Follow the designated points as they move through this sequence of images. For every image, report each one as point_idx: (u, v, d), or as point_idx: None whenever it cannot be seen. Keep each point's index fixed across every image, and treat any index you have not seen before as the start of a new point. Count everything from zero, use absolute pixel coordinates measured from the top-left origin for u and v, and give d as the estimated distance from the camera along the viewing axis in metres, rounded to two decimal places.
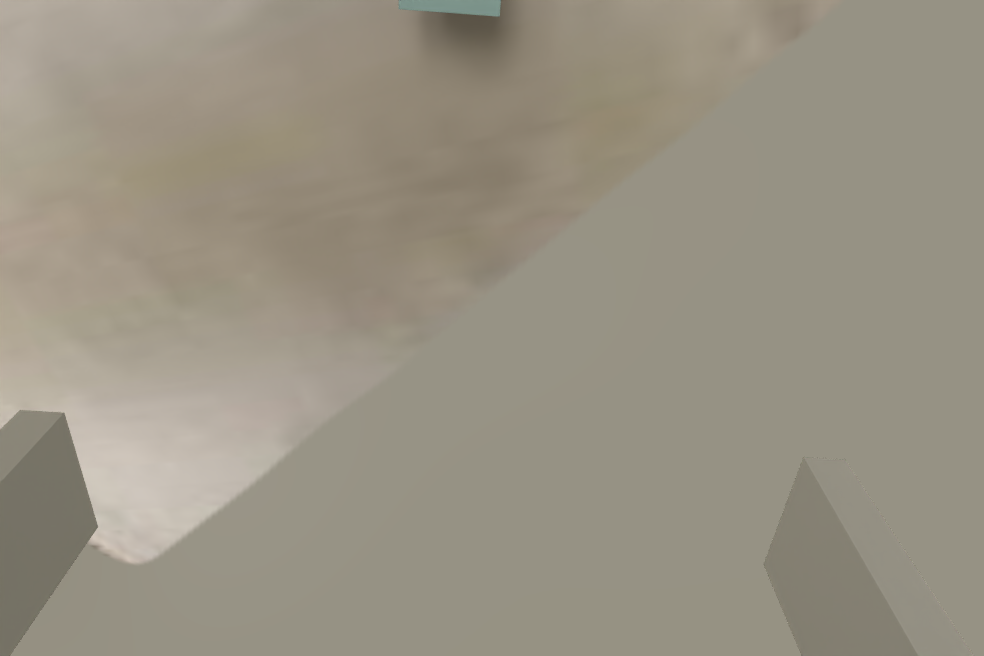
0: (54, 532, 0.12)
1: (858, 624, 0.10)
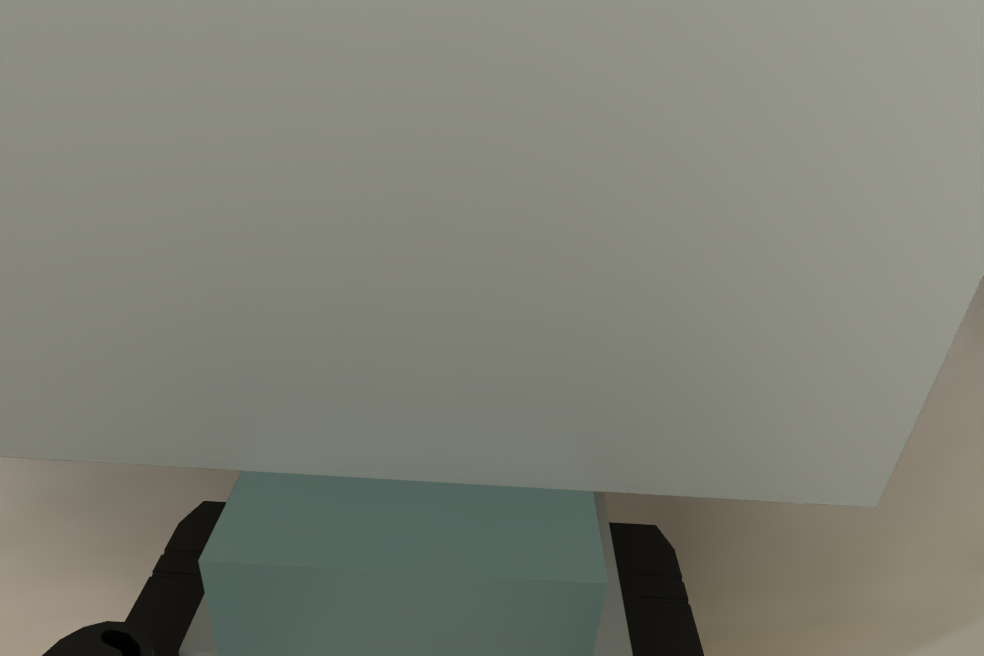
0: None
1: None
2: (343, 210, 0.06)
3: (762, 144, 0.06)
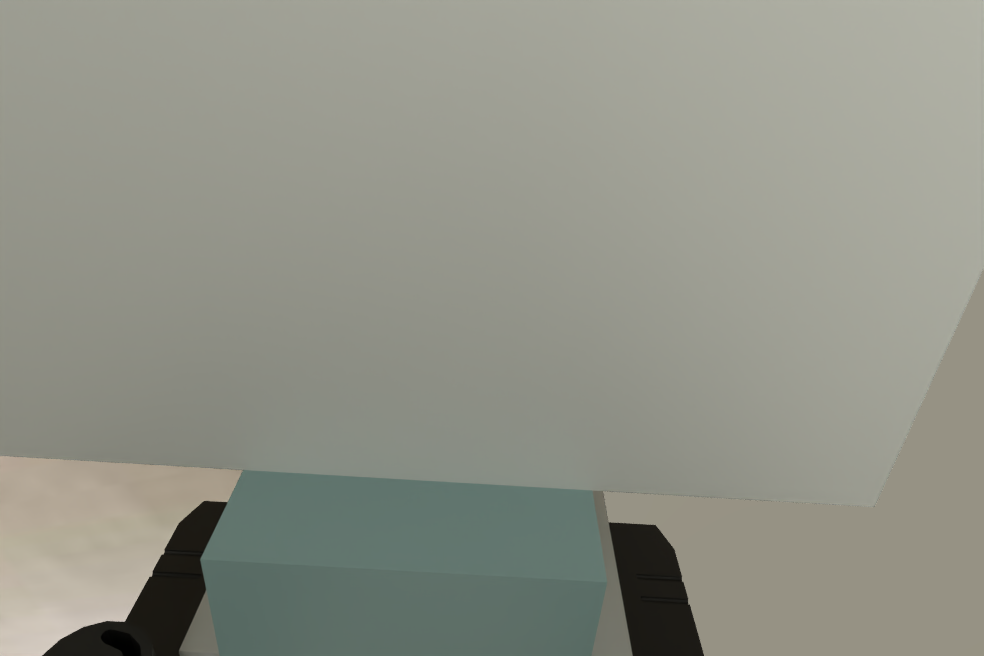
0: None
1: None
2: (344, 211, 0.06)
3: (760, 146, 0.06)
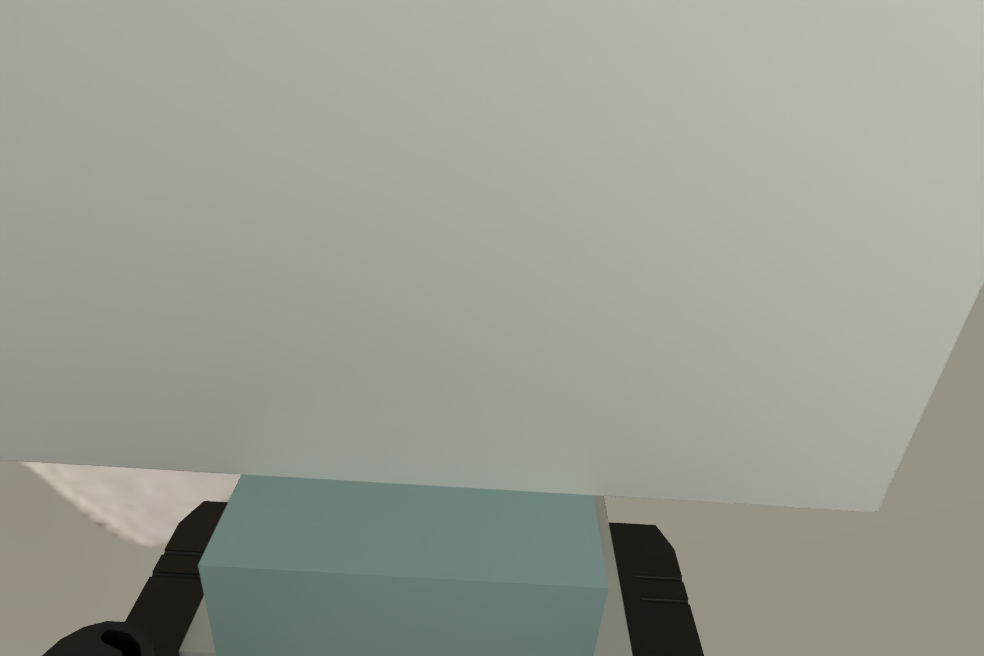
0: None
1: None
2: (343, 214, 0.06)
3: (763, 149, 0.06)
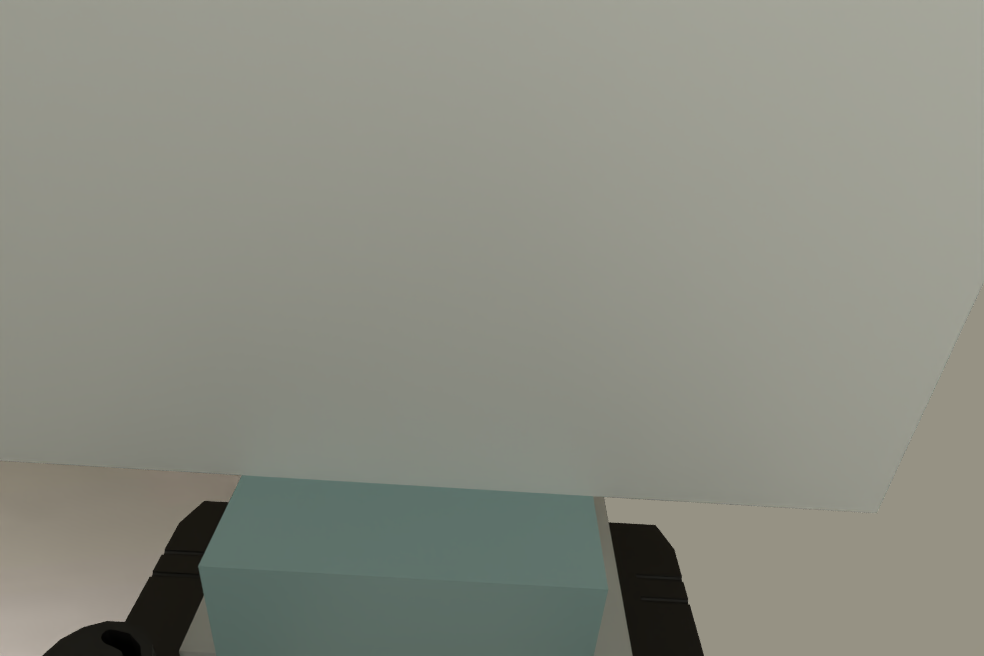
0: None
1: None
2: (344, 216, 0.06)
3: (763, 151, 0.06)
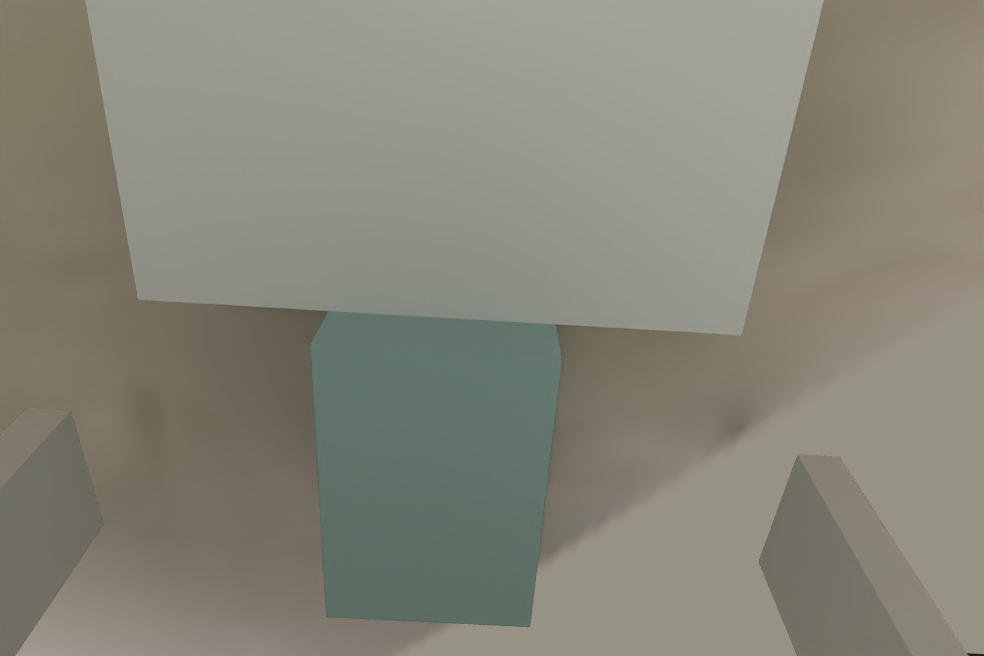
0: (61, 529, 0.12)
1: (852, 620, 0.10)
2: (402, 129, 0.11)
3: (643, 86, 0.10)
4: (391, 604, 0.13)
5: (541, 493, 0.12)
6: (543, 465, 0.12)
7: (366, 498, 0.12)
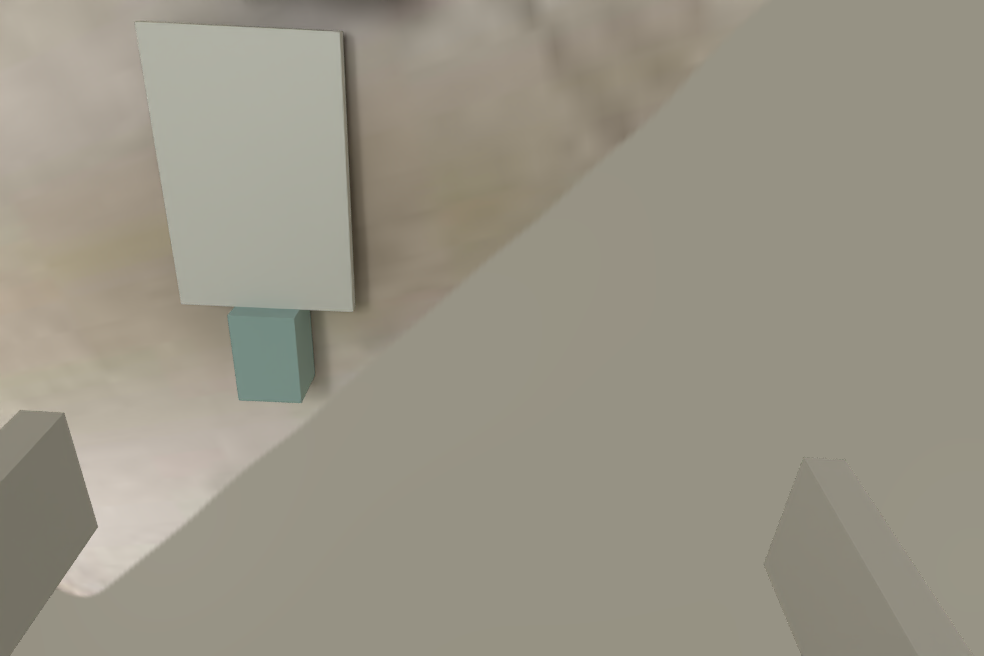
0: (54, 532, 0.12)
1: (859, 623, 0.10)
2: (249, 258, 0.41)
3: (309, 248, 0.41)
4: (258, 395, 0.44)
5: (296, 357, 0.43)
6: (294, 348, 0.43)
7: (246, 359, 0.43)
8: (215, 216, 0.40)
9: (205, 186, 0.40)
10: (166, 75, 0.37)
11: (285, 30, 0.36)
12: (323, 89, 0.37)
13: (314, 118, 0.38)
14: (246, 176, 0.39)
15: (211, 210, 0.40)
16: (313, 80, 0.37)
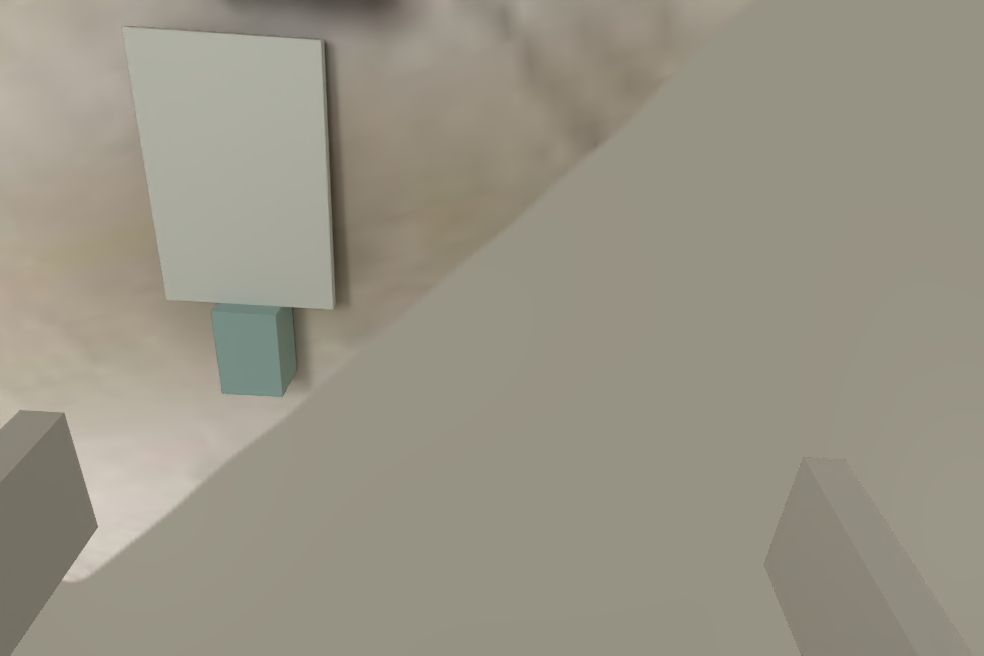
0: (54, 532, 0.12)
1: (858, 624, 0.10)
2: (233, 257, 0.43)
3: (291, 247, 0.42)
4: (240, 389, 0.46)
5: (277, 353, 0.44)
6: (276, 344, 0.44)
7: (229, 354, 0.44)
8: (200, 215, 0.42)
9: (189, 186, 0.41)
10: (152, 79, 0.38)
11: (268, 38, 0.37)
12: (304, 95, 0.38)
13: (296, 122, 0.39)
14: (230, 178, 0.41)
15: (196, 209, 0.41)
16: (295, 86, 0.38)
